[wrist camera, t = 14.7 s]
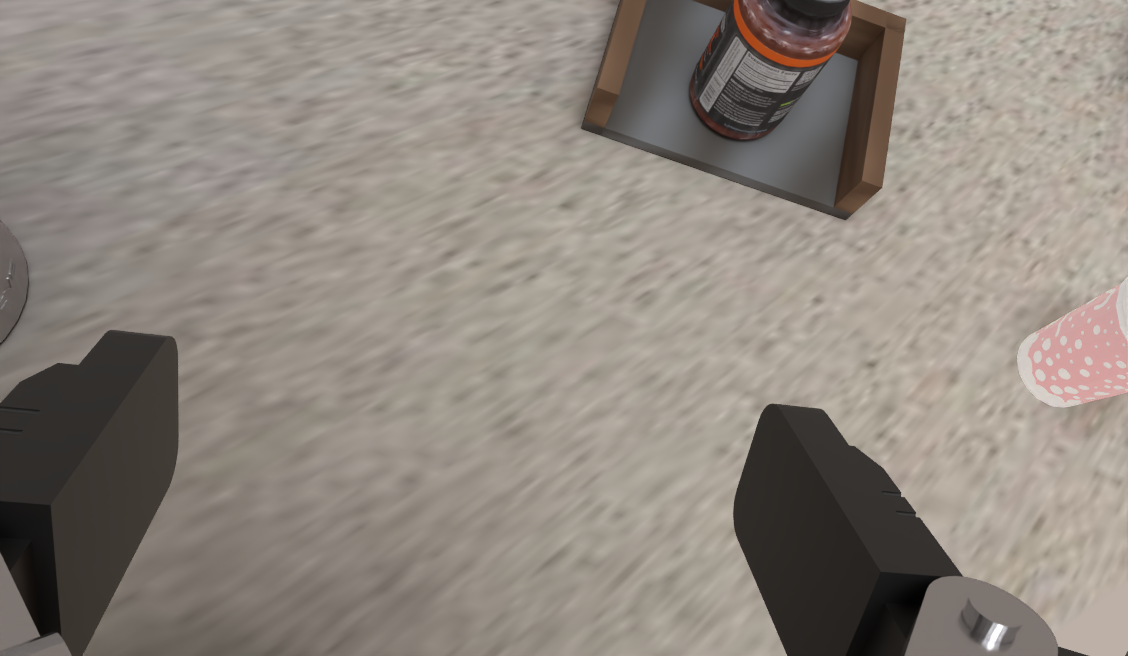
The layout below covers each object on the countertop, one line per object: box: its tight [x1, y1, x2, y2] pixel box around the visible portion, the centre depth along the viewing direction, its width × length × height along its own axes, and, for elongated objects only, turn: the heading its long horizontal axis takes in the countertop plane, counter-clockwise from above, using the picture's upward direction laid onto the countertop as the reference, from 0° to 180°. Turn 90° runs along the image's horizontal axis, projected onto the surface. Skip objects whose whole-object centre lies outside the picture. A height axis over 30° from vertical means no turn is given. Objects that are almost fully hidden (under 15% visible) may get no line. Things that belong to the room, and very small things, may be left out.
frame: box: [581, 0, 906, 220], centre depth 51 cm, size 16×12×4 cm
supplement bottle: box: [690, 0, 852, 140], centre depth 46 cm, size 6×6×11 cm
